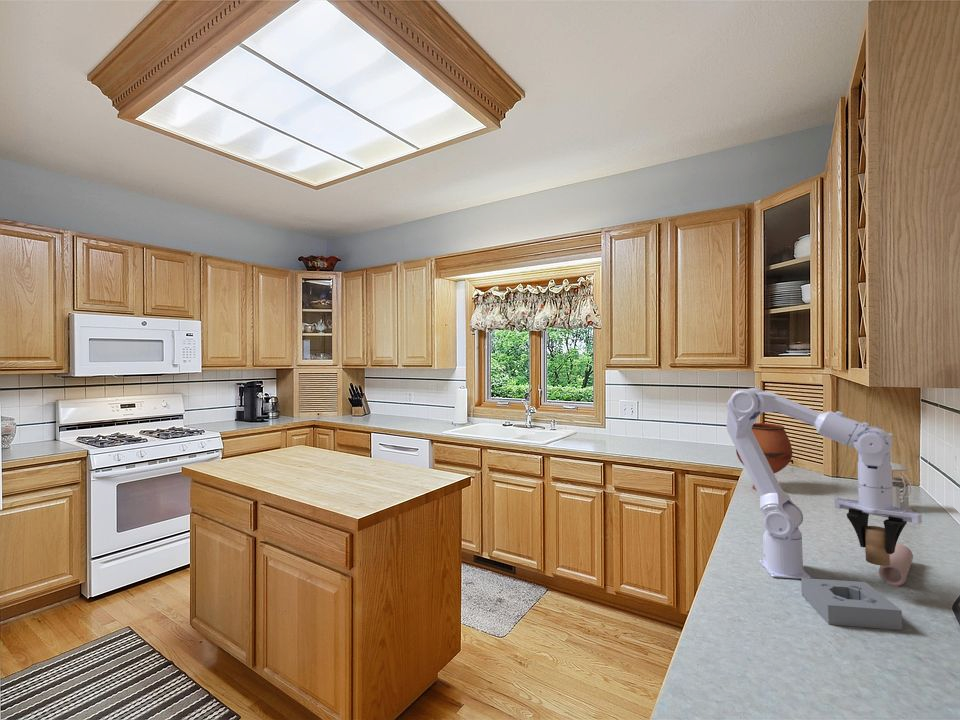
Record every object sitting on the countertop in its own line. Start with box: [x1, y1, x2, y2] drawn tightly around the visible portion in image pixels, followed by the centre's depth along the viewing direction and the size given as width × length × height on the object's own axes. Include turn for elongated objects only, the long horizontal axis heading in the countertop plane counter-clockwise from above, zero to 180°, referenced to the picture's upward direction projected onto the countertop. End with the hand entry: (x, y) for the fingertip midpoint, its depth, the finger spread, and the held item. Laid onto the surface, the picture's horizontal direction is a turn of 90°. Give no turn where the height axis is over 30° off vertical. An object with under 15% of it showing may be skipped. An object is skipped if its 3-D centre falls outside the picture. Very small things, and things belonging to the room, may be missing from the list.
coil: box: [878, 543, 914, 587], centre depth 114 cm, size 5×5×18 cm
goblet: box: [735, 422, 793, 491], centre depth 190 cm, size 19×19×25 cm
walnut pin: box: [864, 525, 890, 566], centre depth 104 cm, size 4×4×7 cm
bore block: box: [800, 578, 903, 631], centre depth 97 cm, size 12×12×4 cm
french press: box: [887, 432, 913, 511], centre depth 161 cm, size 10×12×25 cm
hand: (877, 549), depth 104 cm, fingers closed on walnut pin, 4 cm apart
